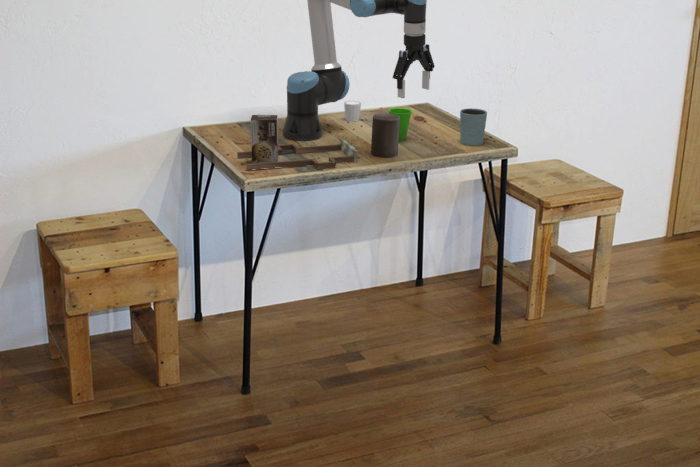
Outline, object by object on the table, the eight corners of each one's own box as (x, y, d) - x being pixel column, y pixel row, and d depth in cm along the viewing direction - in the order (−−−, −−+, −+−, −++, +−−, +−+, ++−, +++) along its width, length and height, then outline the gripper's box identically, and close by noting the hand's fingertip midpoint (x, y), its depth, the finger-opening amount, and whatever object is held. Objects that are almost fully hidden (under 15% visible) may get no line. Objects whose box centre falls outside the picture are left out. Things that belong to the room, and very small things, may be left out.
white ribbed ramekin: (363, 119, 371) (364, 102, 369) (354, 122, 366) (355, 105, 363) (349, 116, 375) (349, 99, 372) (340, 120, 369) (340, 103, 367)
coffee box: (278, 159, 318) (278, 114, 312) (277, 165, 312) (277, 119, 306) (252, 159, 318) (251, 114, 312) (251, 165, 312) (250, 119, 306)
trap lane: (234, 153, 323) (234, 142, 322) (339, 145, 336) (339, 135, 334) (250, 175, 302) (250, 163, 301) (361, 165, 314) (362, 154, 313)
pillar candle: (375, 158, 322) (377, 117, 317) (367, 150, 331) (369, 110, 325) (401, 157, 325) (404, 116, 319) (392, 149, 334) (395, 109, 328)
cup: (409, 143, 341) (410, 114, 337) (385, 141, 342) (386, 112, 338) (412, 136, 349) (413, 108, 345) (389, 134, 351) (390, 106, 347)
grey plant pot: (469, 147, 337) (472, 116, 333) (452, 140, 345) (454, 109, 341) (490, 143, 343) (493, 112, 338) (472, 137, 350) (475, 106, 346)
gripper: (399, 42, 305) (398, 103, 314) (445, 28, 321) (443, 87, 330) (382, 38, 309) (382, 99, 319) (428, 25, 326) (427, 83, 335)
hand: (413, 93), depth 324 cm, fingers open, 13 cm apart
